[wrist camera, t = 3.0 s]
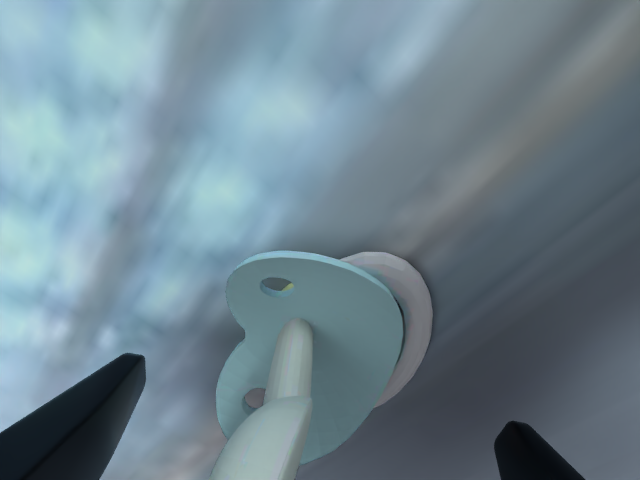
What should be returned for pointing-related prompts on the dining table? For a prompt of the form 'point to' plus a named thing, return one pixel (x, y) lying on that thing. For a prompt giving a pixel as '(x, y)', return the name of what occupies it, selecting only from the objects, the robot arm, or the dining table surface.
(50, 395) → the dining table surface
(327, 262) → the pacifier
